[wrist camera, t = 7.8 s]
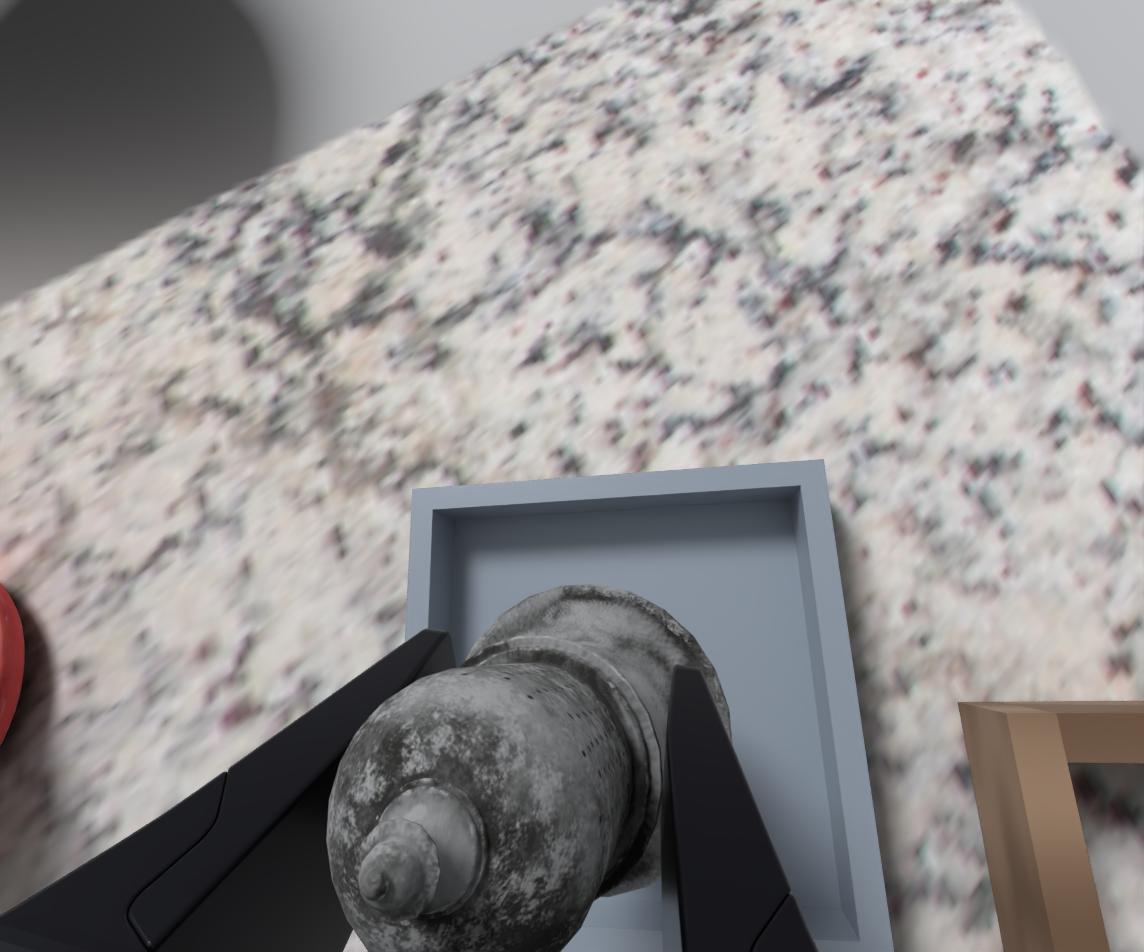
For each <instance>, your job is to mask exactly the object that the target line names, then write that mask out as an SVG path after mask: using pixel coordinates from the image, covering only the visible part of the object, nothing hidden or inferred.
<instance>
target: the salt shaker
mask: <svg viewBox="0 0 1144 952" xmlns="http://www.w3.org/2000/svg"><path fill="white" fill-rule="evenodd" d="M677 664H679V665H686V666H693V667H698V668H700V669H701V671H702V672H703V674H704V677H705V679H706V682H707V684H708V686H709V689H710V691H711V694H712V696H713V699H714V701H715V703H716V706H717V708H718V711H719V713H720V716H721V718H722V720H723V723H724V725H725V728H726V730H727V733H728V735H729V737H730V740H731V742H732V733H731V722H730V711H729V707H728V704H727V701H726V698H725V695H724V692H723V689H722V687H721V684H720V681H719V678H718V675H717V672H716V669H715V668H714V666H713V665H712V663H711V662H710V660H709V659H708V657H707V656H706V654H705V653H704V651H703V650H702V648H701V647H700V645H699V644H698V642H697V640H696V639H695V637H694V636H693V635H692V634H691V633H690V632H689V631H688V630H687V629H686V628H684V627H683V626H682V625H681V624H680V623H679V622H678V621H677V620H676V619H675V618H674V617H672V616H671V615H670V614H669V613H668V612H667V611H666V610H665V609H663V608H661V607H659V606H657V605H656V604H654V603H652V602H650V601H648V600H646V599H644V598H642V597H640V596H638V595H637V594H635V593H633V592H630V591H625V590H621V589H616V588H612V587H608V586H603V585H599V584H588V585H565V586H559V587H556V588H553V589H550V590H547V591H544V592H541V593H538V594H535V595H532V596H529V597H527V598H526V599H524V600H523V601H521V602H520V603H518V604H516V605H515V606H513V607H512V608H510V609H509V610H507V611H506V612H504V613H503V614H501V615H500V616H499V617H498V618H497V619H496V620H495V621H494V622H493V623H492V624H491V626H490V627H489V628H488V629H487V630H486V631H485V632H484V633H483V634H482V635H481V636H480V638H479V639H478V640H477V641H476V642H475V644H474V646H473V648H472V649H471V651H470V653H469V655H468V657H467V659H466V661H464V662H463V664H462V665H461V666H460V667H459V668H452V669H448V670H445V671H442V672H438V673H435V674H432V675H429V676H425V677H422V678H419V679H418V680H416V681H415V682H413V683H412V684H410V685H409V686H407V687H406V688H404V689H402V690H401V691H399V692H398V693H396V694H395V695H393V696H392V697H390V698H389V699H387V700H386V701H385V702H383V703H382V704H381V705H380V706H379V707H378V708H377V709H376V710H375V711H374V712H373V714H372V715H371V716H370V717H369V718H368V719H367V720H366V721H365V722H364V723H363V724H362V726H361V727H360V728H359V729H358V730H357V732H356V734H355V736H354V737H353V739H352V741H351V743H350V745H349V746H348V748H347V750H346V752H345V754H344V756H343V757H342V759H341V761H340V763H339V767H338V770H337V774H336V777H335V781H334V784H333V788H332V791H331V794H330V798H329V807H328V822H327V836H326V841H327V848H328V856H329V863H330V870H331V877H332V882H333V884H334V887H335V890H336V892H337V895H338V898H339V900H340V903H341V906H342V908H343V911H344V914H345V916H346V919H347V921H348V922H349V924H350V925H351V926H352V928H353V929H354V931H355V932H356V934H357V935H358V937H359V938H360V940H361V941H362V943H363V944H364V946H365V947H366V949H367V950H368V952H561V951H562V950H563V949H564V947H565V946H566V945H567V944H568V943H569V942H570V940H571V939H572V938H573V937H574V936H575V935H576V933H577V932H578V931H579V930H580V929H581V927H582V925H583V923H584V921H585V918H586V916H587V914H588V912H589V910H590V908H591V906H592V903H593V901H595V900H596V899H598V898H600V897H611V896H615V895H619V894H622V893H626V892H630V891H634V890H638V889H641V888H645V887H648V886H649V885H651V884H652V883H654V882H656V881H657V880H659V879H660V878H661V837H660V815H661V799H662V785H663V770H664V755H665V740H666V726H667V715H668V707H669V698H670V689H671V680H672V671H673V667H674V666H675V665H677ZM732 745H733V744H732Z"/></svg>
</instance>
